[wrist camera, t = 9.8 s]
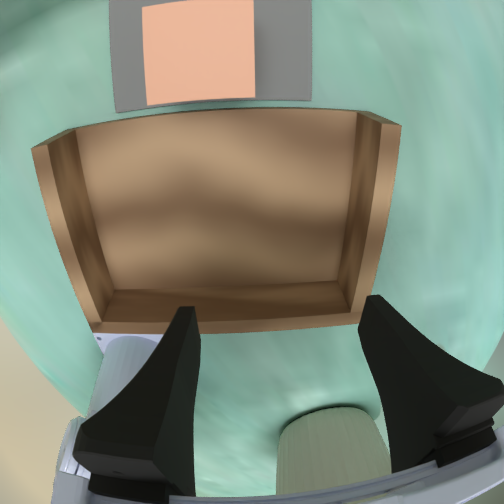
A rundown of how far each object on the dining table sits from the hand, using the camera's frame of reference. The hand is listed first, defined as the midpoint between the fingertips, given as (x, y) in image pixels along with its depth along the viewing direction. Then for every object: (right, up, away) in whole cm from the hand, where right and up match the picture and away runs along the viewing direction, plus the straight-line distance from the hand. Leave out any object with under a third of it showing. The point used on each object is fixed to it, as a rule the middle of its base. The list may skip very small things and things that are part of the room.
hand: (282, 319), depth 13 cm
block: (-4, +14, +3) cm, 15 cm away
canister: (+9, -22, +27) cm, 36 cm away
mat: (-4, +16, +2) cm, 17 cm away
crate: (-4, +6, +9) cm, 11 cm away
